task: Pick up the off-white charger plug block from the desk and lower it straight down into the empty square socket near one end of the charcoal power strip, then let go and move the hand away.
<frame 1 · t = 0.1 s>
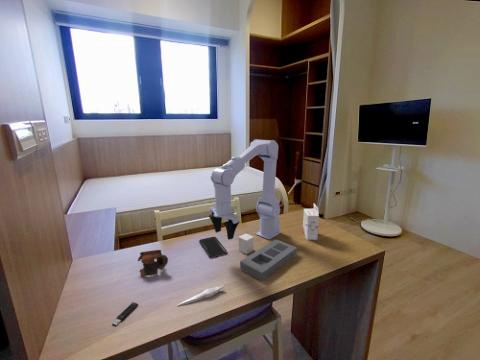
hand: (224, 235, 92), 10 cm above the table, tool pointing down, fingers open, 7 cm apart
pottery mug: (154, 269, 88), on the table
white tapered rod: (201, 298, 74), on the table
ink cartridge box: (309, 236, 112), on the table
power strip: (269, 261, 92), on the table
phone: (212, 248, 103), on the table
charger plug: (246, 250, 100), on the table
usb flash drive: (125, 315, 68), on the table
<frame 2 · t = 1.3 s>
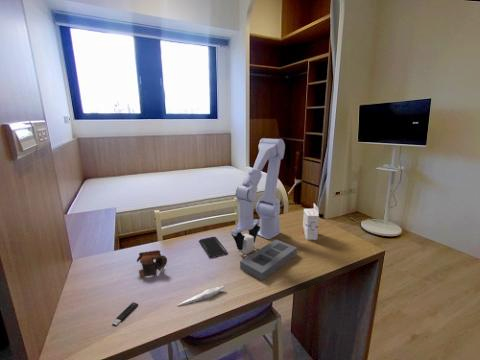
hand: (246, 245, 100), 2 cm above the table, tool pointing down, fingers open, 7 cm apart
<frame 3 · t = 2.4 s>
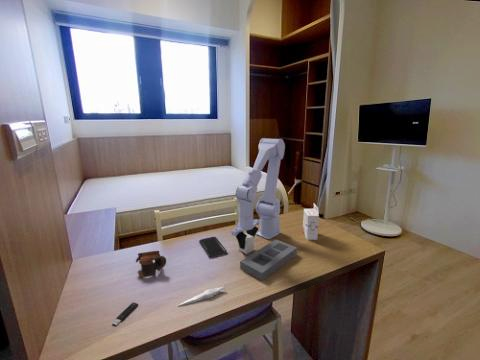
hand: (246, 245, 100), 2 cm above the table, tool pointing down, fingers closed on charger plug, 4 cm apart
charger plug: (246, 250, 100), on the table, touching gripper
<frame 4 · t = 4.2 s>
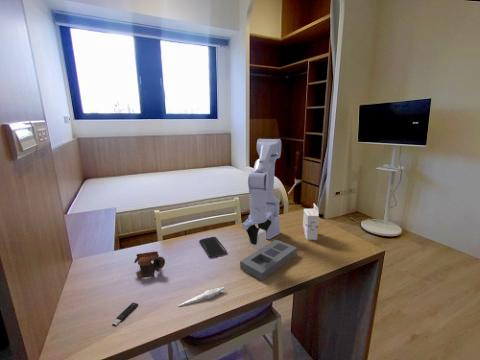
hand: (257, 241, 89), 9 cm above the table, tool pointing down, fingers closed on charger plug, 4 cm apart
charger plug: (257, 245, 89), point 7 cm above the table, touching gripper
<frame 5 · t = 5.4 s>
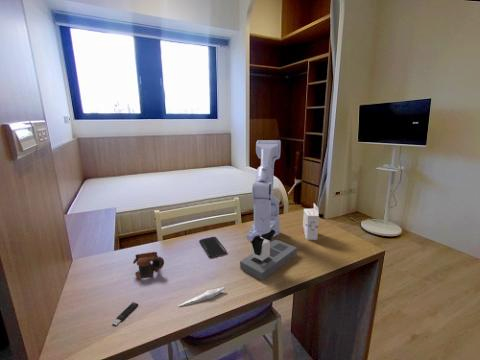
hand: (261, 251, 87), 6 cm above the table, tool pointing down, fingers closed on charger plug, 4 cm apart
charger plug: (261, 256, 88), point 4 cm above the table, touching gripper
when the fingers open (4 cm above the table, at t = 6.4 s): charger plug drops 1 cm, resting on power strip.
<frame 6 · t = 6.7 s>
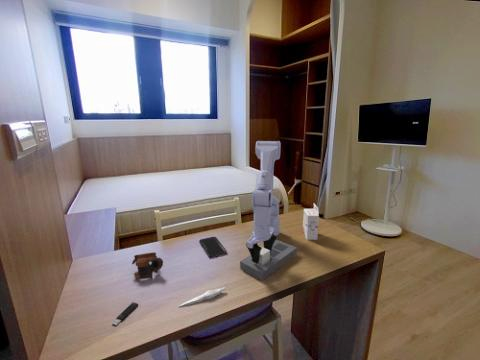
hand: (261, 257, 88), 4 cm above the table, tool pointing down, fingers open, 7 cm apart
charger plug: (261, 265, 89), point 1 cm above the table, touching power strip
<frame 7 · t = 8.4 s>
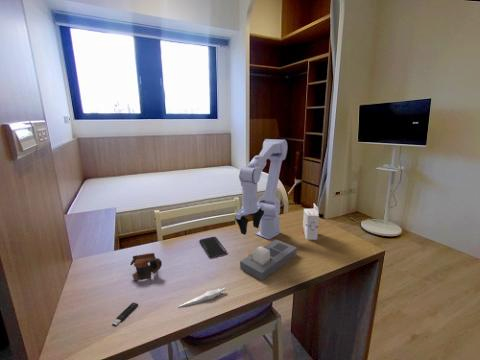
hand: (249, 230, 97), 9 cm above the table, tool pointing down, fingers open, 7 cm apart
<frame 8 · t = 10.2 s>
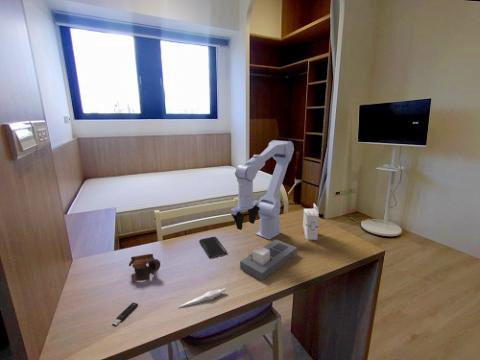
hand: (245, 225, 101), 9 cm above the table, tool pointing down, fingers open, 7 cm apart
at the end: charger plug 0.2 cm from the target spot on the power strip, point 0.6 cm above the power strip's base; charger plug tilted 0°; the gripper is holding nothing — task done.
